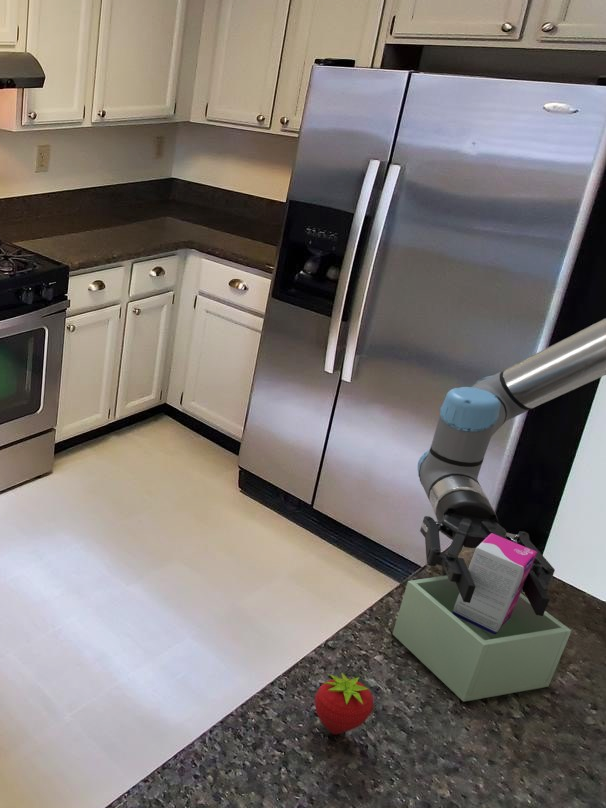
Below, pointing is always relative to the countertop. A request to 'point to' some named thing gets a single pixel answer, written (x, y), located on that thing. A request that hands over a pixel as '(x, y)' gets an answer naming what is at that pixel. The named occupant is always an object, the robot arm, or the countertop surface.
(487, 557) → the supplement box
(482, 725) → the countertop surface
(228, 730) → the countertop surface
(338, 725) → the strawberry
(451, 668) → the trash bin
